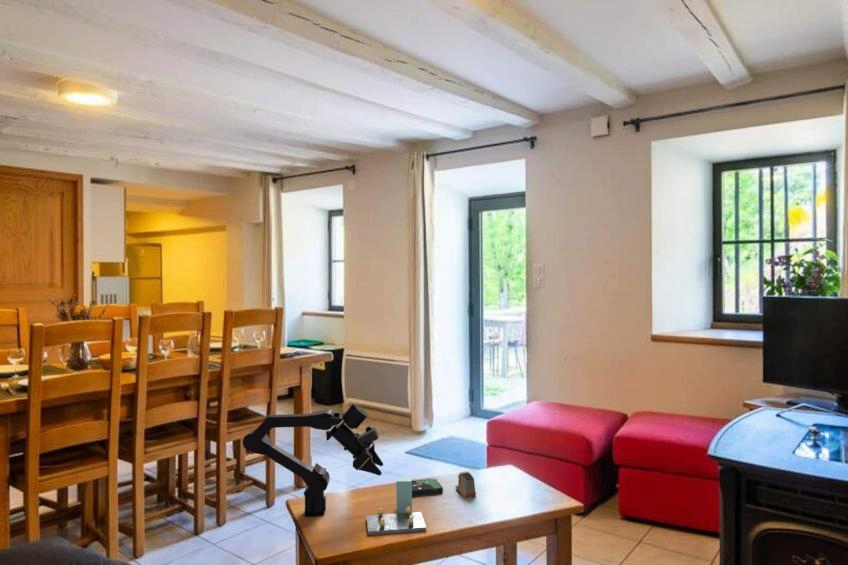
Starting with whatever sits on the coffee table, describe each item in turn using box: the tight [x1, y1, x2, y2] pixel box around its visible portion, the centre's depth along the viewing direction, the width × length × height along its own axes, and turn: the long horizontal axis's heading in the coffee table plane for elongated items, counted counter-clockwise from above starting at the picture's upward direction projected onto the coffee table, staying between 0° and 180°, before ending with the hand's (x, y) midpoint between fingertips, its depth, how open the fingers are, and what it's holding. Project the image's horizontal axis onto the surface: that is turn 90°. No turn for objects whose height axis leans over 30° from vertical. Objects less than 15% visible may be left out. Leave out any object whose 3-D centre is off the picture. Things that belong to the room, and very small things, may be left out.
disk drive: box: [412, 478, 444, 498], centre depth 214 cm, size 10×3×15 cm
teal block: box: [395, 475, 413, 514], centre depth 195 cm, size 5×5×11 cm
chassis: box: [365, 506, 427, 536], centre depth 184 cm, size 18×12×4 cm, turn 98°
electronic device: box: [455, 471, 477, 499], centre depth 211 cm, size 4×10×8 cm, turn 20°
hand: (381, 469), depth 195 cm, fingers open, 9 cm apart
